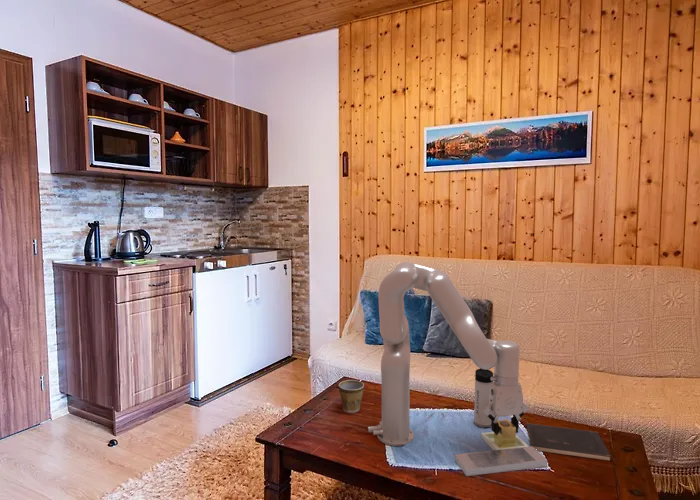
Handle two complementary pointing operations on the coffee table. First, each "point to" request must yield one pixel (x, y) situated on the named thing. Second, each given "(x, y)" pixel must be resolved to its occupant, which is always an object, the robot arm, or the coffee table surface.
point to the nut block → (505, 434)
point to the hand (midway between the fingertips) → (504, 431)
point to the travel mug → (482, 397)
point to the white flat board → (500, 460)
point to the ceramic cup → (351, 395)
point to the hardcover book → (567, 441)
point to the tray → (489, 439)
